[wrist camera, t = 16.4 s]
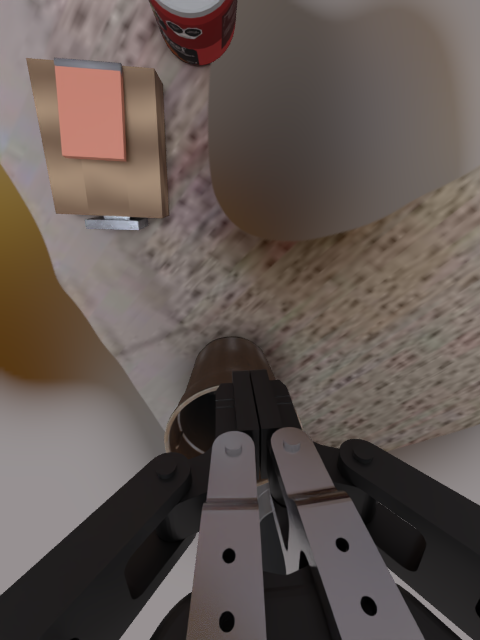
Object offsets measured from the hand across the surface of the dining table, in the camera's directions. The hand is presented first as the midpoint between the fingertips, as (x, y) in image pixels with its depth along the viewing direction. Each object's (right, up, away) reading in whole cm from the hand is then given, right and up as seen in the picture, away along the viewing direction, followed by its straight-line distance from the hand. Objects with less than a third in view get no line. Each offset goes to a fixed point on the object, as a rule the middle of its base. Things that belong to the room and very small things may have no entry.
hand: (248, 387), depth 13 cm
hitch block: (-15, +23, +23) cm, 36 cm away
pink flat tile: (-15, +24, +16) cm, 32 cm away
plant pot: (-2, -5, +36) cm, 36 cm away
